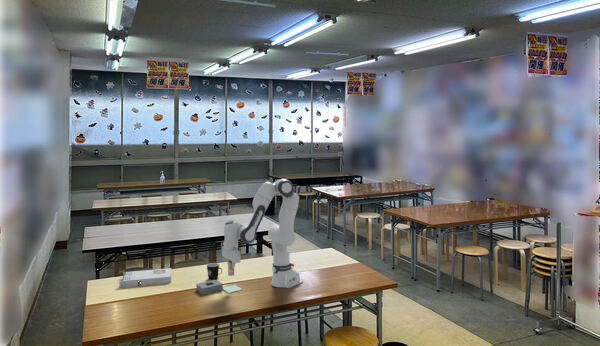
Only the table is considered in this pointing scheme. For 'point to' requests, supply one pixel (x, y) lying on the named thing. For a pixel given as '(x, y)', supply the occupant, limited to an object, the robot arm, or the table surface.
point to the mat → (231, 289)
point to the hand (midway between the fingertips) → (231, 266)
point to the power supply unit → (146, 277)
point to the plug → (230, 269)
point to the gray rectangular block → (209, 286)
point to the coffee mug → (213, 271)
